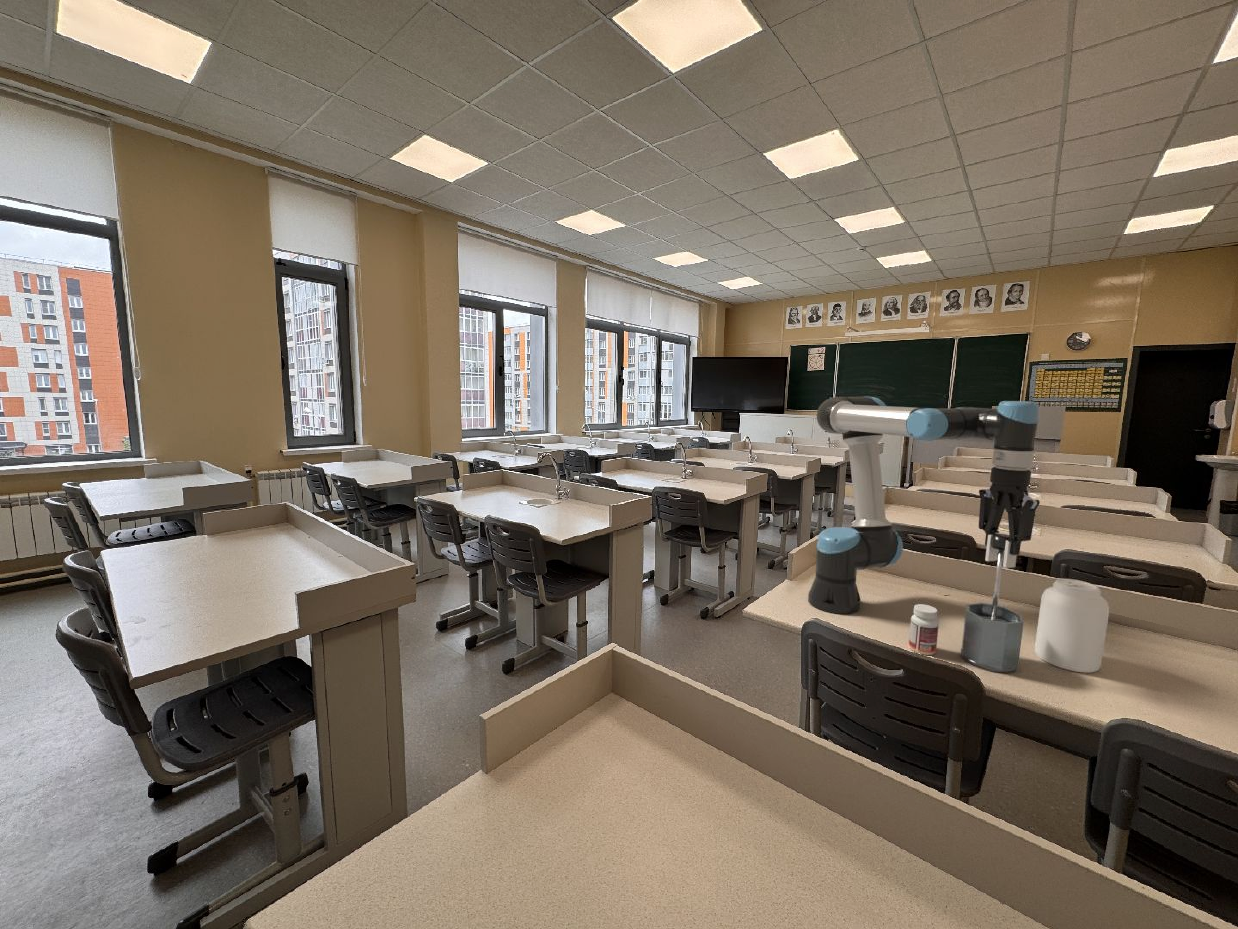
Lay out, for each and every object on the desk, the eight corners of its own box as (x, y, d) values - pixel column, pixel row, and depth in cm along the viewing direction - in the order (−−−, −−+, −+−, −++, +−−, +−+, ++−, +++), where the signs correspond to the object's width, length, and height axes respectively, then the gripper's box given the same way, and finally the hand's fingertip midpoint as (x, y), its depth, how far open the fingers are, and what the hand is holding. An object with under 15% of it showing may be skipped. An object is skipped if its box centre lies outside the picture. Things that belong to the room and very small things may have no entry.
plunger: (963, 620, 131) (973, 532, 128) (991, 617, 133) (1001, 530, 129) (993, 636, 123) (1005, 542, 120) (1022, 632, 125) (1034, 539, 121)
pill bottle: (940, 651, 134) (944, 609, 132) (928, 658, 130) (932, 615, 129) (916, 641, 139) (919, 601, 137) (903, 648, 135) (907, 606, 134)
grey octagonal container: (949, 651, 134) (954, 605, 132) (994, 645, 137) (999, 600, 135) (989, 675, 123) (995, 625, 121) (1038, 669, 126) (1044, 620, 124)
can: (1031, 661, 129) (1041, 584, 126) (1036, 642, 138) (1046, 570, 135) (1099, 680, 121) (1112, 598, 118) (1100, 659, 130) (1112, 583, 127)
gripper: (966, 462, 129) (957, 553, 133) (1034, 474, 113) (1021, 577, 117) (991, 461, 131) (981, 551, 135) (1061, 473, 114) (1048, 575, 118)
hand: (999, 563), depth 126 cm, fingers closed on plunger, 4 cm apart
